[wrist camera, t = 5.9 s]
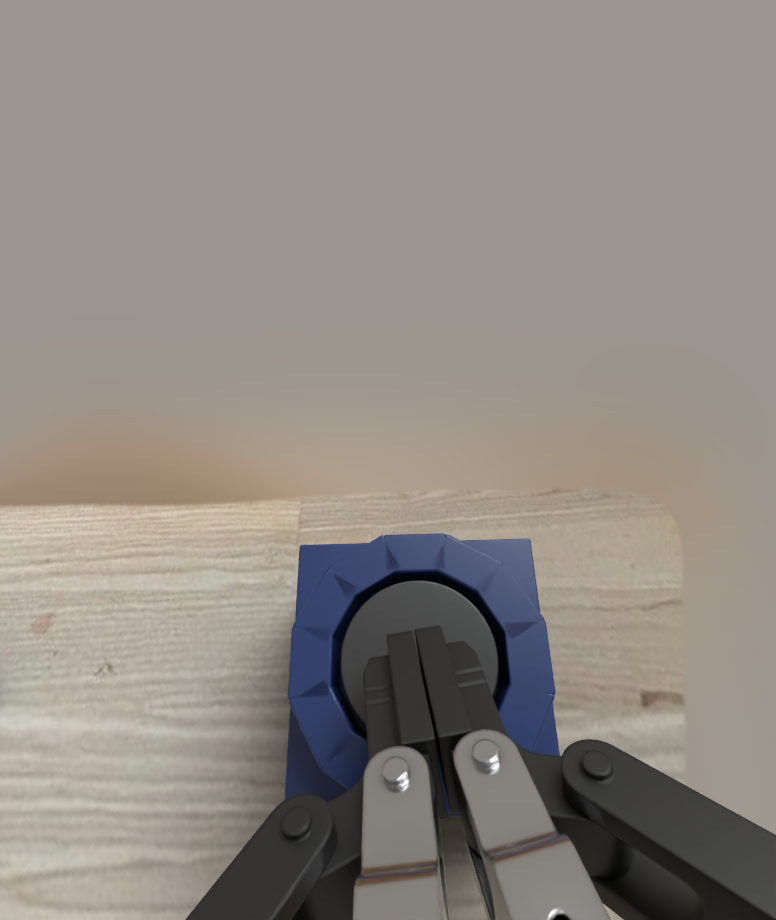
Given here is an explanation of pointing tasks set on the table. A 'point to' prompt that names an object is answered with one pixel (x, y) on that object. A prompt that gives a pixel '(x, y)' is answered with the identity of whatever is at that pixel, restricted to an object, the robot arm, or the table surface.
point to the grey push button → (406, 612)
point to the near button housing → (355, 581)
